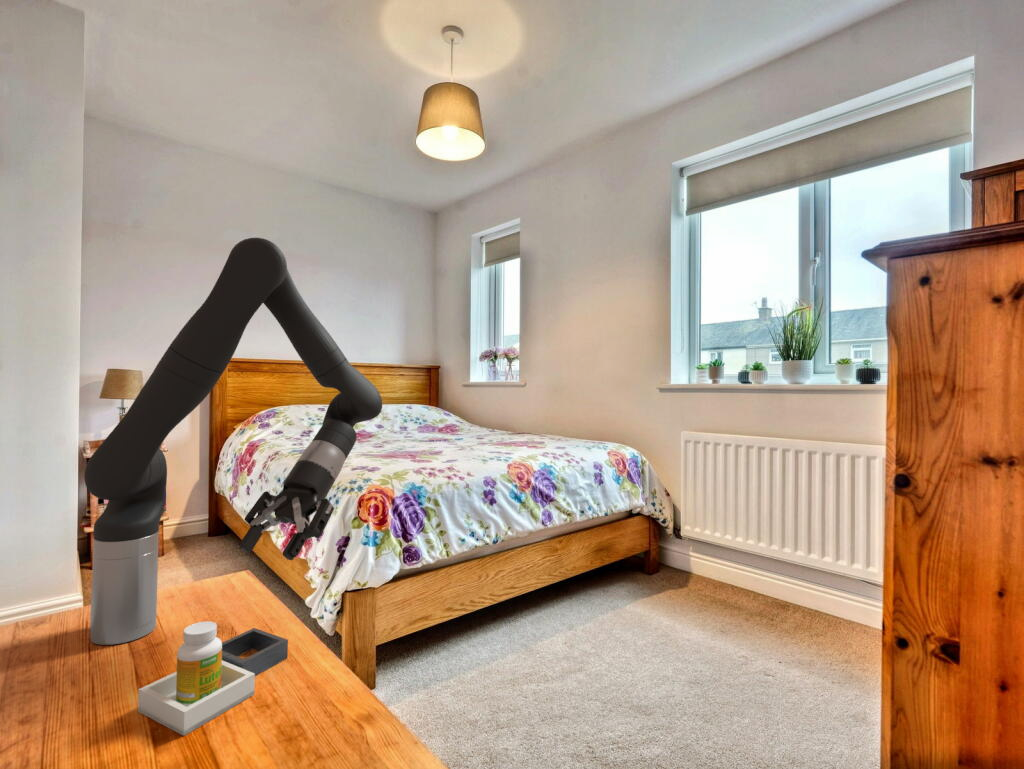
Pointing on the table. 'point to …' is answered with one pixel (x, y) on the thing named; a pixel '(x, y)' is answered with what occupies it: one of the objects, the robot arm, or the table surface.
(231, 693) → the tray
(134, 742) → the table surface
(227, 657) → the holder sleeve
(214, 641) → the supplement bottle
